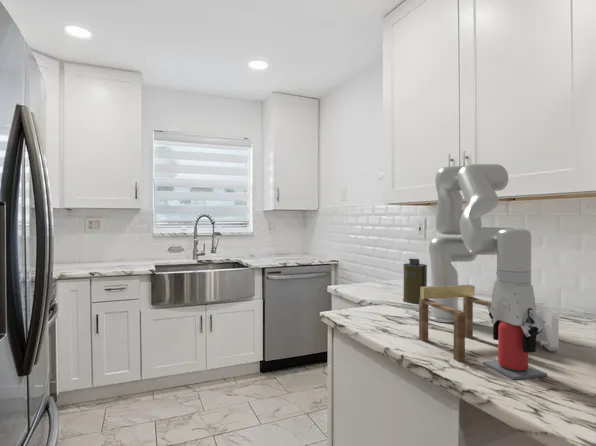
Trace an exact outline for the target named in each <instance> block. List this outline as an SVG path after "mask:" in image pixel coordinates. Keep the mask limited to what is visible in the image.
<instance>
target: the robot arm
mask: <svg viewBox="0 0 596 446" xmlns="http://www.w3.org/2000/svg"><path fill="white" fill-rule="evenodd" d="M508 184H509V174H508V171H507V169H506V168H505V167H504V166H503V165H501V164H498V163H488V164H487V163H483V164H481V163H480V164H479V163H478V164H477V163H474V164H467V165H462V166H461V165H460V166H459V165H454V166H453V165H452V166H444V167H441V168H439V170H438V171H436V175H435V189H436V193H437V205H436V206H437V207H436V217H435V229H436V231H437V232H438V233H439V234H441V235H446V236H438V237H434V238H432V239H431V240H430V241H429V244H428V252H429V256H430V257H429V258H430V266H431V267H430V268H431V274H430V275H431V277H430V278H431V286H451V285H459V275H458V270H457V269H456V267H455V266H453V264H452V263H455V262H460V263H461V262H464V263H465V262H466V263H467V262H473V261H475V260H476V258H477V256H478V255H479V256H486V255H487V256H489V255H491V256H496V280H494V283H493V286H492V287H493V288H492V295H491V304H489V305H487V306H486V308H487V310H488V316H489V317H490V319H491V324H492V327H493V328H492V330H493V331H492V336H493V337H492V339H493V340H494V341H498V327H499V323H500V321H503V322H506V323H508V324H511V325H514V326H521V328H522V330H523V331H524V333H525V335H523V352H525V353H528V354H529V353H535V352H536V351H537V341H536V336H538V335H539V333H540V332H541V331H542V328H543V326H544V325H545V321H544V320H543V319H542V318H541V317H540V316H539V315H538V314H537V313H536V306H535V305H536V298H535V291H534V286H533V284H532V234H531V232H530V230H528V229H526V228H514V227H492V226H491V227H489V226H487V227H484V226H482V224H483V223H482V217H481V216H484V215H487V214H488V213H490V212H492V211H493V210H494V209H496V208H497V206H498V205H499V197H498V195H497V193H496V192H499V191H503V190H505V188H506V187H507V185H508ZM460 191H461V192H460ZM463 197H464V200H465V203H466V207H465V208H464V209H463ZM447 235H448V236H447ZM449 235H450V236H449ZM451 235H452V236H451ZM453 235H455V236H453ZM460 235H461V236H460ZM431 300H432V301H435V302H437V303H440V304H443V305H446V306H449V307H451V308H454V309H457V310H459V298H438V299H431ZM428 310H430V312H428V320H431V321H434V322H438V323H439V322H440V323H447V324H451V323H453V324H454V315H453V314H451V313H448V312H445V311H443V310H440V309H438V308H435V307H432V306H430V305H428ZM525 322H526V323H525ZM534 324H535V326H534ZM527 327H529V328H530V330H529V329H528V328H527Z"/></svg>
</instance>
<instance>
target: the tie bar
mask: <svg viewBox="0 0 596 446" xmlns="http://www.w3.org/2000/svg"><path fill="white" fill-rule="evenodd" d="M475 287H476V286H475V285H473V284H458V285H451V286H432V285H431V286H430V285H429V286H426V287H420V298H422V299H429V300H432V299H438V298H458V299H459V298H463V297H474V298H476V296H475V293H476V292H475Z"/></svg>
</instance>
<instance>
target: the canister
mask: <svg viewBox="0 0 596 446" xmlns="http://www.w3.org/2000/svg"><path fill="white" fill-rule="evenodd" d="M408 261H409V262H408V263H403V264H402V265H403V298H402V301H404V302H405V303H409V304H419V298H420V287H426V286H427V285H428V283H427V280H428V279H427V278H428V277H427V275H428V274H427V273H428V271H427V270H428V265H427V264H425V263H420V259H419V258H409V259H408Z"/></svg>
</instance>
